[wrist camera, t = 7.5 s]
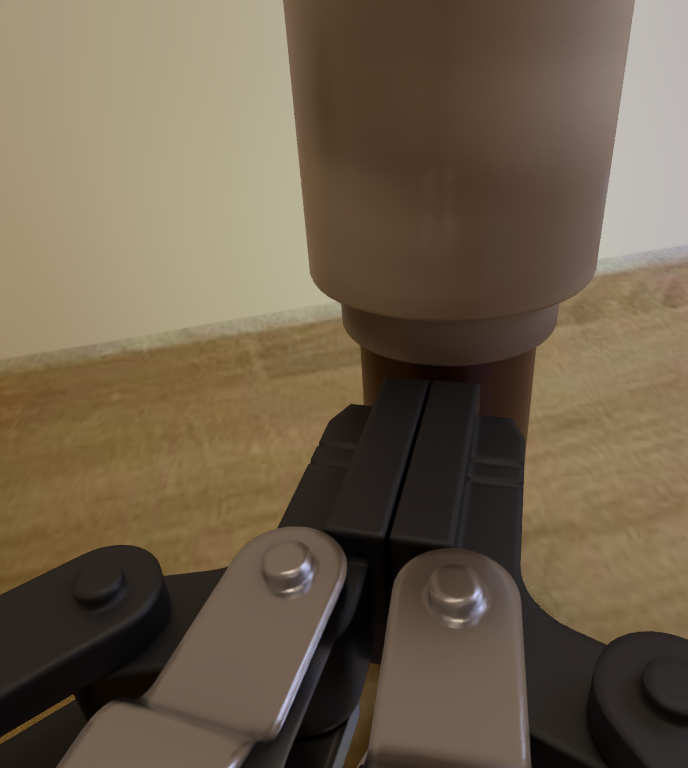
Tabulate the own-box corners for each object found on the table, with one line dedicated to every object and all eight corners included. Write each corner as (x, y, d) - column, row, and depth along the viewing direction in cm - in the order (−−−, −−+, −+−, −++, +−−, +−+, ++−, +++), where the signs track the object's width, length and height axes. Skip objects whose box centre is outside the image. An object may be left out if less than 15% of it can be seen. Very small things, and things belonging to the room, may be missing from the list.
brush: (543, 554, 17) (629, -97, 10) (542, 725, 13) (683, -146, 6) (368, 530, 18) (331, -66, 11) (319, 679, 14) (214, -91, 7)
